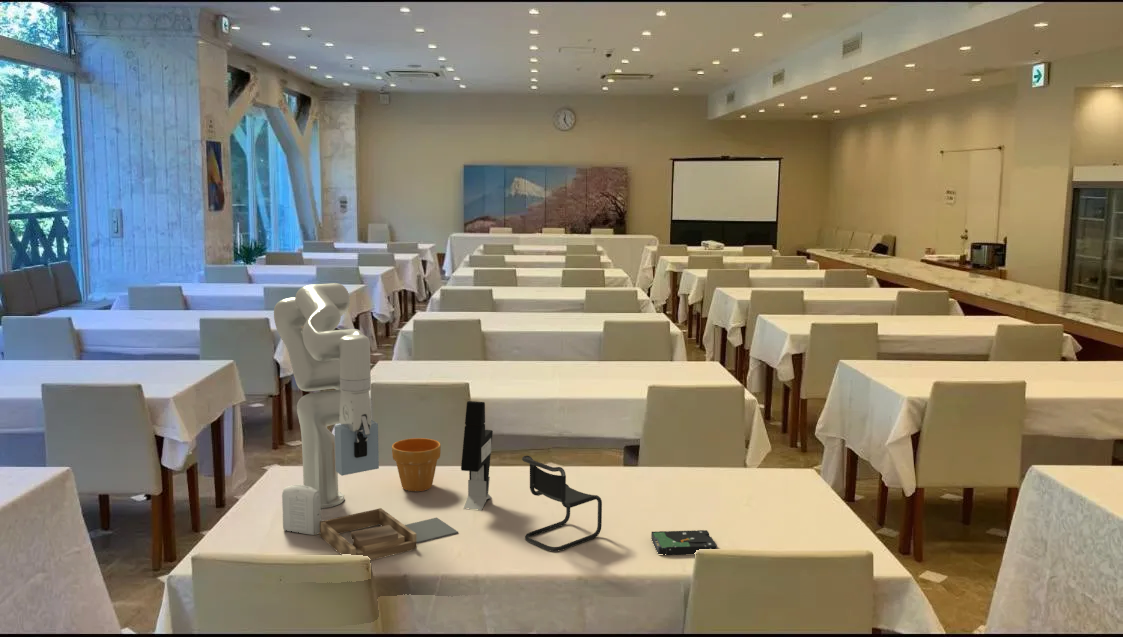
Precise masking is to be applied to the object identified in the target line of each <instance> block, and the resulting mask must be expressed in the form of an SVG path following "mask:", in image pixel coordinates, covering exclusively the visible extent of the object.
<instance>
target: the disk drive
mask: <svg viewBox="0 0 1123 637" xmlns="http://www.w3.org/2000/svg"><path fill="white" fill-rule="evenodd" d="M650 536H651V538H650V539H652V540H651V542H652V541H653V542H652V544H654V545H653V547H654V546H655V547H654V548H656V549H655V551H656V550H657V551H656V553H657V552H658V553H657V555H658V554H663V555H662V556H687V555H686V554H694V553H695V552H696V550H699V549H717V548H718V546H717V544H716V543H715V540H714V538H713V537H712V536H710V532H709V531H708V530H706V529H705V530H704V529H702V530H701V529H698V530H694V529H693V530H668V531H667V530H666V531H664V530H662V531H660V530H659V531H651V535H650ZM717 550H718V549H717ZM665 554H666V555H665Z"/></svg>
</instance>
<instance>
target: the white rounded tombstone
mask: <svg viewBox="0 0 1123 637" xmlns="http://www.w3.org/2000/svg"><path fill="white" fill-rule="evenodd" d="M281 493H282V494H281V499H282V500H281V501H282V502H281V503H282V505H281V506H282V529H283V531H286V530H287V531H286V532H291V531H292V533H298V532H299V534H305V535H311V536H315V535H314V534H316V535H318V534H320V521H322V508H321V497H320V492H319V491H318V490H316V489H314V488H312V487H309V486H304V484H292V485H287V486H285V487H283V489H282V492H281Z"/></svg>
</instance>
